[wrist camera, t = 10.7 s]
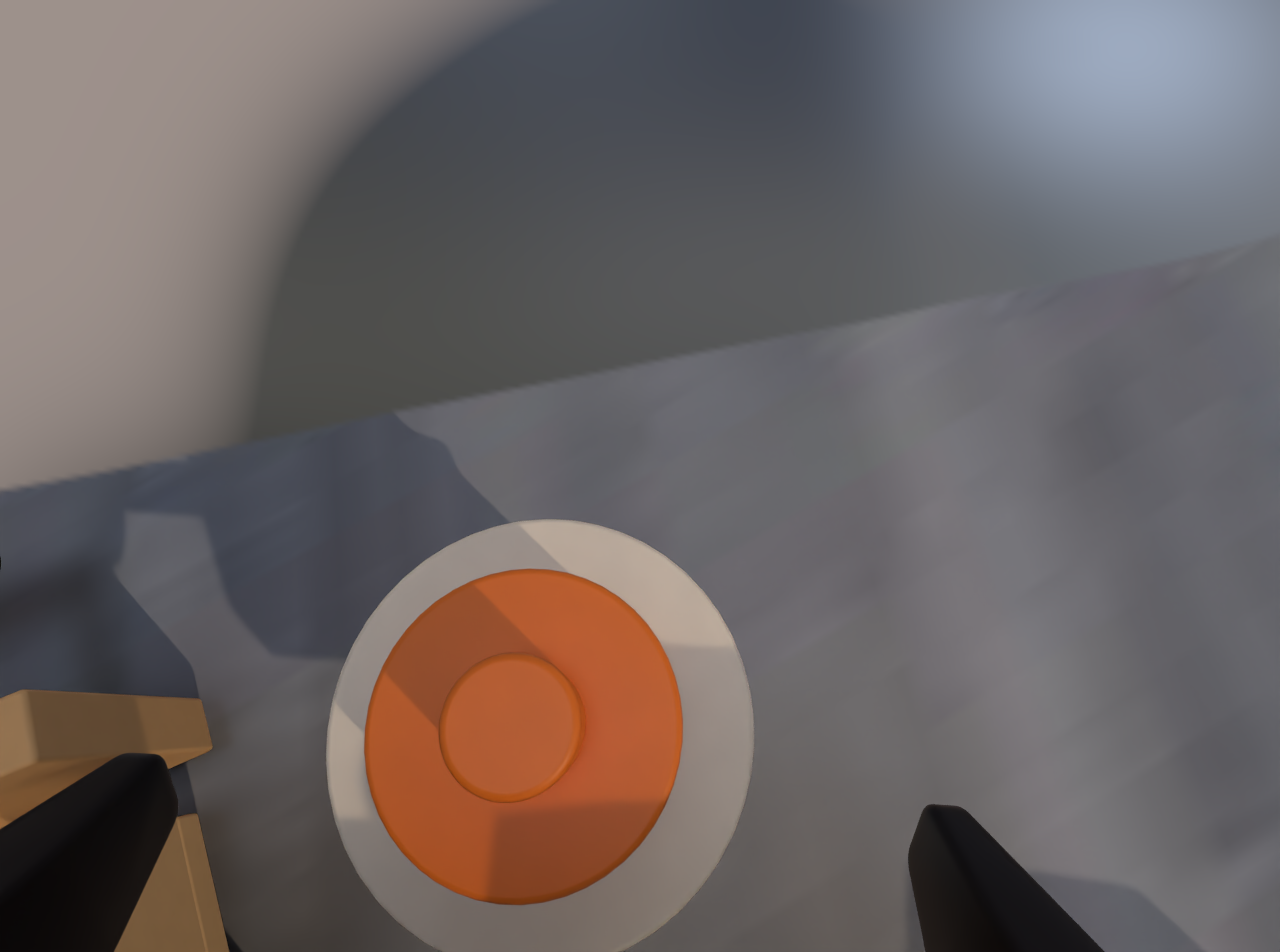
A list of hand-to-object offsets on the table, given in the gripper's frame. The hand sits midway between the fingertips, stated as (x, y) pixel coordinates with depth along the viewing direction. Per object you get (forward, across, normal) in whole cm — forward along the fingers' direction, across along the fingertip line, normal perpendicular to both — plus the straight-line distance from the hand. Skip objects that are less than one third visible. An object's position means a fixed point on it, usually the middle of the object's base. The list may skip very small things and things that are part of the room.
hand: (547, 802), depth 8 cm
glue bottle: (+7, 0, +5) cm, 9 cm away
